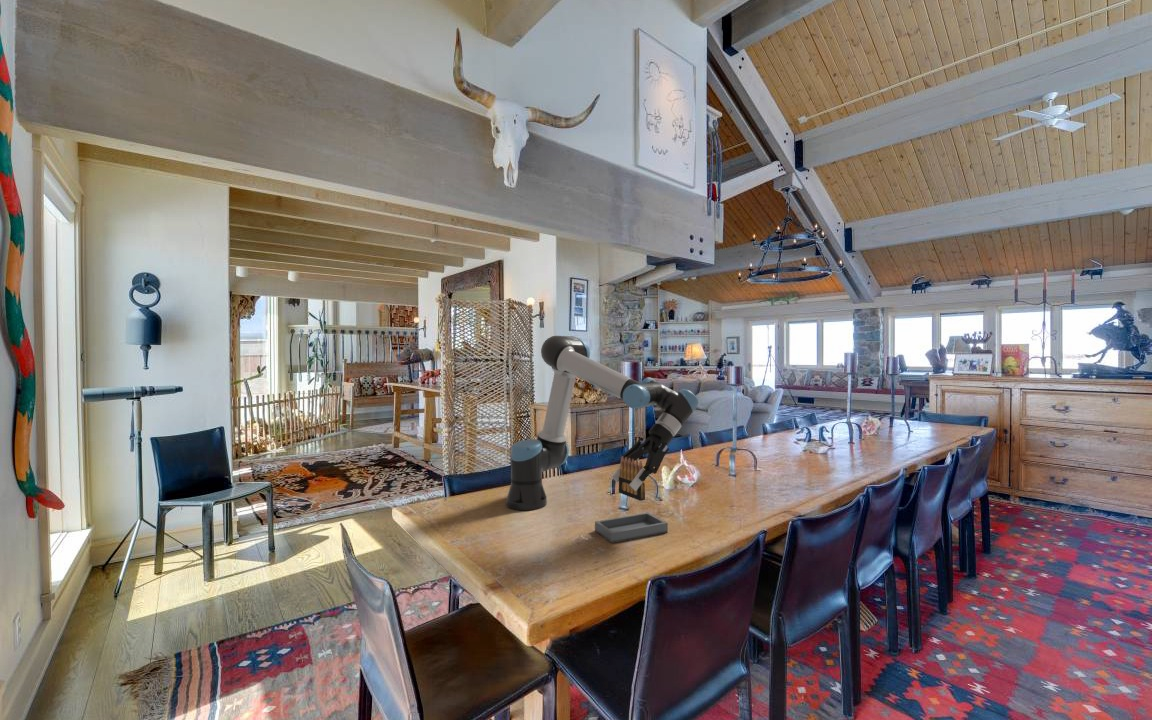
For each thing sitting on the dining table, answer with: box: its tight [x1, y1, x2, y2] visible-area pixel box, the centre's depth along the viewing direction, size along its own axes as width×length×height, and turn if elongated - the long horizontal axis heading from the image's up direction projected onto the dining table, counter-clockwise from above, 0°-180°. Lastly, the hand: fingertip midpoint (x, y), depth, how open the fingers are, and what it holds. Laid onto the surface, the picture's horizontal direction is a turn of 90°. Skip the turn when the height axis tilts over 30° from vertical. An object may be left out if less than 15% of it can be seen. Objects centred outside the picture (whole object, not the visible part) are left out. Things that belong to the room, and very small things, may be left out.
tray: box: [594, 512, 669, 544], centre depth 145 cm, size 11×20×3 cm, turn 115°
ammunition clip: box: [618, 455, 646, 502], centre depth 145 cm, size 11×2×12 cm, turn 34°
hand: (623, 483), depth 143 cm, fingers closed on ammunition clip, 10 cm apart
